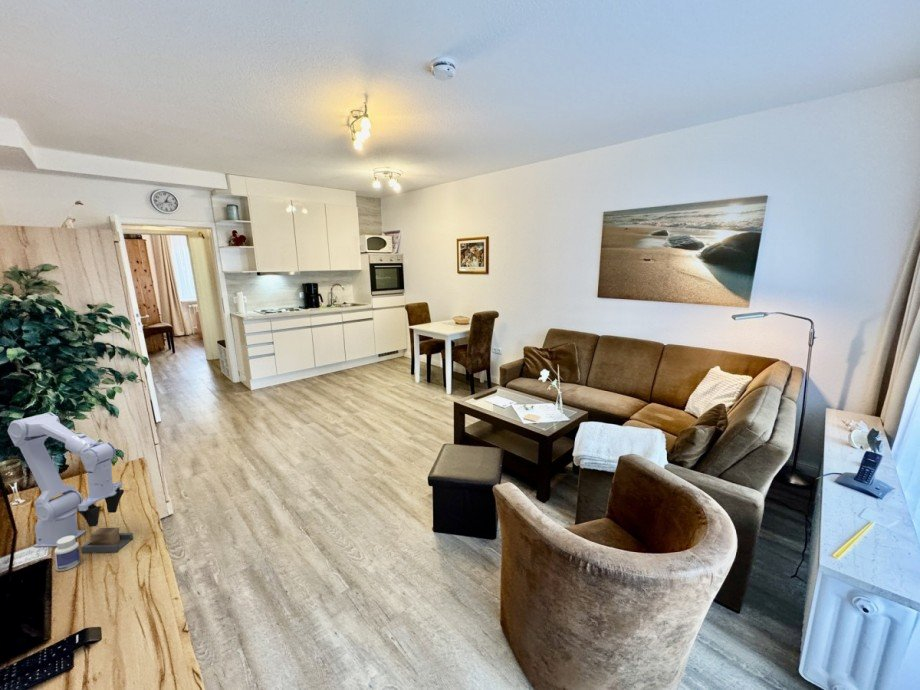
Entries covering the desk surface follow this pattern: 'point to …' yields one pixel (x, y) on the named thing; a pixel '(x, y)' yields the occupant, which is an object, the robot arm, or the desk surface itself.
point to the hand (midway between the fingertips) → (103, 518)
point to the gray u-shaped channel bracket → (123, 541)
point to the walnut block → (105, 536)
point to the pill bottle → (67, 553)
